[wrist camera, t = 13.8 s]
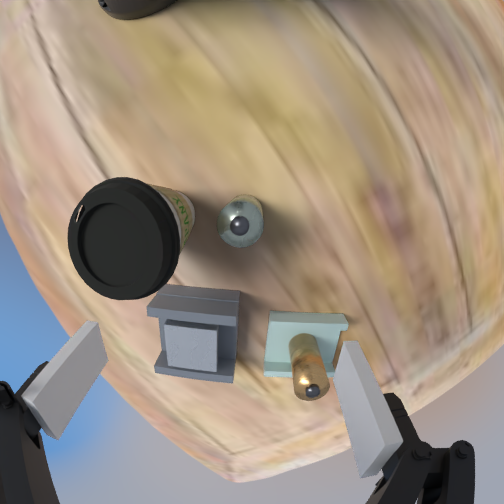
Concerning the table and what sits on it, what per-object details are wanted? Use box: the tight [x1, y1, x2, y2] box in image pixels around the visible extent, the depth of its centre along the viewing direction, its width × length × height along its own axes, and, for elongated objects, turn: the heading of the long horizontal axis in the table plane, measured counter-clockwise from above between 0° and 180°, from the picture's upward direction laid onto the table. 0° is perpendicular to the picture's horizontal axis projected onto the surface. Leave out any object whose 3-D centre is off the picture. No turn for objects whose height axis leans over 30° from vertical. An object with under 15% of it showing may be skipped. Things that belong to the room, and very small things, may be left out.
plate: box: [164, 319, 219, 372], centre depth 31 cm, size 6×6×2 cm
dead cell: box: [217, 194, 264, 248], centre depth 28 cm, size 4×4×10 cm
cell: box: [288, 333, 330, 401], centre depth 32 cm, size 4×4×10 cm
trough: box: [264, 311, 349, 377], centre depth 35 cm, size 9×10×3 cm
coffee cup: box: [68, 177, 195, 300], centre depth 25 cm, size 10×10×15 cm
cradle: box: [147, 284, 240, 383], centre depth 33 cm, size 10×10×6 cm
